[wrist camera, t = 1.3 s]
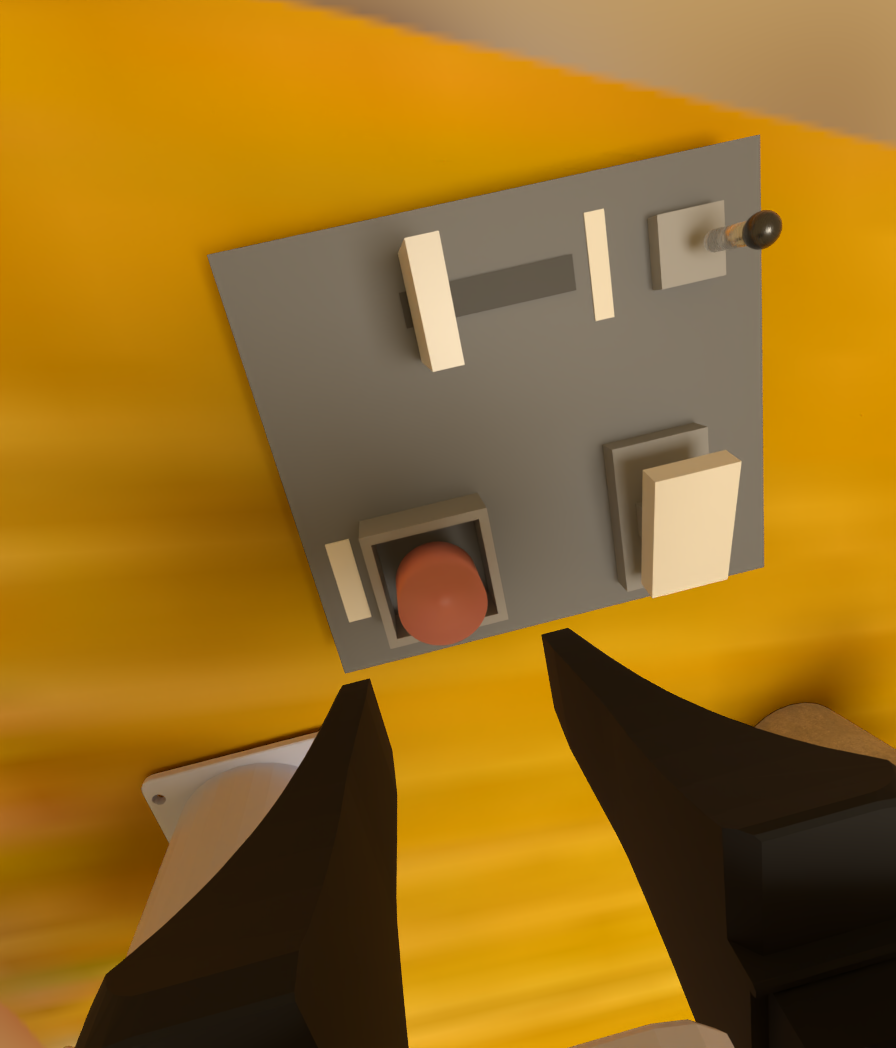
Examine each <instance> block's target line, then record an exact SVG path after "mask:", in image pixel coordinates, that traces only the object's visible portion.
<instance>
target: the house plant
mask: <svg viewBox="0 0 896 1048" xmlns="http://www.w3.org/2000/svg"><path fill="white" fill-rule="evenodd" d="M755 728H758V729H762V730H765V731H768V732H771V733H775V734H778V735H781V736H785V737H788V738H792V739H796V740H800V741H803V742H807V743H811V744H815V745H819V746H823V747H827V748H832V749H837V750H842V751H847V752H852V753H857V754H862V755H867V756H872V757H877V758H881V759H886V760H889V761H890V762H891V763H893V764H894V765H895V766H896V749H894V748H892V747H891V746H889V745H888V744H886V743H884V742H883V741H881V740H879V739H878V738H876V737H874V736H873V735H871V734H870V733H868V732H866V731H865V730H863V729H861V728H860V727H858V726H856V725H855V724H853V723H852V722H850V721H848V720H847V719H845V718H843V717H842V716H840V715H838V714H837V713H835V712H834V711H832V710H830V709H829V708H827V707H824V706H822V705H819V704H815V703H799V704H793V705H789V706H787V707H784V708H781V709H779V710H777V711H775V712H773V713H772V714H770V715H768V716H767V717H765V718H764V719H763V720H762V721H761V722H760V723H759V724H757V725H756V726H755Z"/></svg>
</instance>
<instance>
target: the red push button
mask: <svg viewBox="0 0 896 1048" xmlns="http://www.w3.org/2000/svg"><path fill="white" fill-rule="evenodd" d="M396 592H397V603H398V613H399V618H400V620H401V623H402V625H403V627H404V628H405V629H406V631H407V632H408V633H409V634H410V635H411V636H413V637H414V638H415V639H417V640H419V641H421V642H424V643H427V644H431V645H449V644H454V643H457V642H459V641H462V640H464V639H465V638H467V637H469V636H470V635H471V634H473V633H474V632H475V631H476V630H477V629H478V627H479V626H480V625H481V623H482V621H483V620H484V617H485V615H486V611H487V606H488V600H487V594H486V590H485V588H484V586H483V583H482V581H481V579H480V576H479V574H478V571H477V569H476V567H475V564H474V562H473V560H472V559H471V557H470V556H469V555H468V553H467V552H465V551H464V550H463V549H462V548H460V547H458V546H456V545H454V544H451V543H448V542H439V541H438V542H429V543H425V544H422V545H420V546H418V547H416V548H414V549H413V550H411V551H410V552H409V553H408V554H407V555H406V556H405V557H404V558H403V560H402V561H401V563H400V565H399V567H398V569H397V573H396Z"/></svg>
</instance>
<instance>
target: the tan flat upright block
mask: <svg viewBox="0 0 896 1048" xmlns="http://www.w3.org/2000/svg"><path fill="white" fill-rule="evenodd" d="M398 257H399V261H400V266H401V270H402V275H403V279H404V284H405V288H406V293H407V298H408V302H409V307H410V311H411V316H412V320H413V325H414V329H415V334H416V339H417V343H418V348H419V352H420V357H421V361H422V363H423V364H424V365H426V366H427V367H428V368H429V369H430V370H431V371H432V372H435V371H440V370H444V369H448V368H452V367H457V366H461V365H465V363H464V358H463V353H462V348H461V343H460V338H459V332H458V327H457V322H456V317H455V312H454V306H453V301H452V296H451V291H450V286H449V281H448V275H447V270H446V265H445V260H444V255H443V250H442V244H441V239H440V234H439V231H434V232H430V233H425V234H420V235H416V236H411V237H407V238H404V240H403V242H402V245H401V247H400V249H399V252H398Z"/></svg>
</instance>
